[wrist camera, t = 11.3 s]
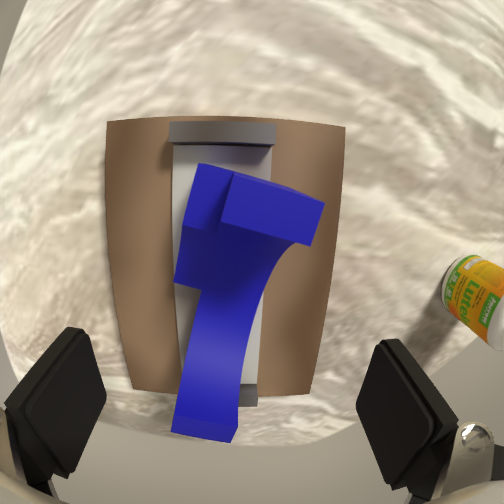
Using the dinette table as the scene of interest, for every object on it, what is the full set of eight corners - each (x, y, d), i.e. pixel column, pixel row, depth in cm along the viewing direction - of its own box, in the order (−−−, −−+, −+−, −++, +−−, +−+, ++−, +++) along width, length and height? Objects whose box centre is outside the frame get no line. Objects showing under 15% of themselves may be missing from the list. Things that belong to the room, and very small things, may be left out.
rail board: (333, 130, 16) (356, 124, 13) (303, 377, 21) (313, 407, 18) (120, 125, 15) (95, 118, 12) (139, 372, 20) (128, 402, 17)
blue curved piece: (205, 163, 14) (186, 162, 8) (290, 187, 15) (325, 203, 9) (162, 355, 17) (141, 424, 12) (229, 371, 18) (230, 443, 12)
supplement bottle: (441, 260, 19) (528, 315, 10) (482, 245, 19) (563, 286, 10) (436, 318, 21) (505, 383, 12) (477, 300, 21) (544, 350, 12)
